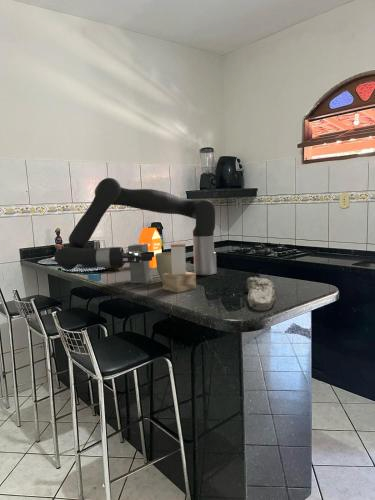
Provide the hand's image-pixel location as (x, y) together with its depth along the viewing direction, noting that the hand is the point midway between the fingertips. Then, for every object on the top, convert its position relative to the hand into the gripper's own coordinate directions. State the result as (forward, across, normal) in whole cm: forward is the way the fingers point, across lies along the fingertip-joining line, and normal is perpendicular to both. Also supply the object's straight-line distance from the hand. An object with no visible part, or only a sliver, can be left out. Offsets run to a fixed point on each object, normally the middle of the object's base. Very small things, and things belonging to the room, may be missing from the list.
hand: (153, 255), depth 144 cm
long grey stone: (+38, -15, +13) cm, 43 cm away
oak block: (+9, 0, +13) cm, 16 cm away
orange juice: (-6, +53, +13) cm, 55 cm away
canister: (+9, 0, +7) cm, 12 cm away
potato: (-24, +44, +13) cm, 52 cm away
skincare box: (-7, +16, +13) cm, 22 cm away
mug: (+5, +12, +13) cm, 19 cm away
